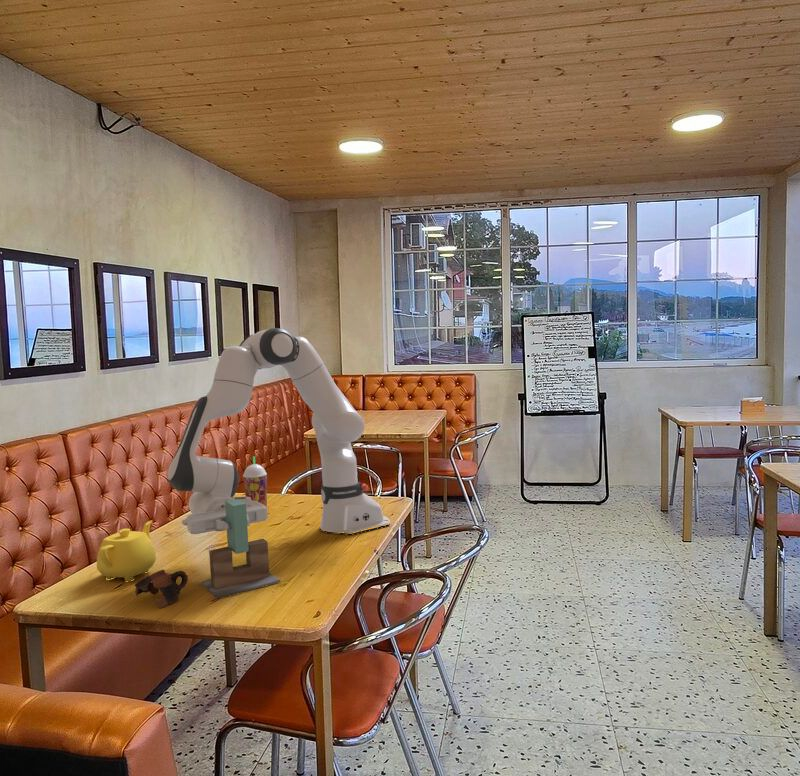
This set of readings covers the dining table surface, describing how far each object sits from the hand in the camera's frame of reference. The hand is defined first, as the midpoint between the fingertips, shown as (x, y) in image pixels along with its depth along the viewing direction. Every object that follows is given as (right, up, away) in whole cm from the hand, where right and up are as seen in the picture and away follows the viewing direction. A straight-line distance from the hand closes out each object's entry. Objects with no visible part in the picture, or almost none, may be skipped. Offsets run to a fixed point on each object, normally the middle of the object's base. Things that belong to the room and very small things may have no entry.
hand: (237, 524), depth 161 cm
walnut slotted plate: (0, -15, +2) cm, 15 cm away
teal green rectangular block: (0, -6, +1) cm, 7 cm away
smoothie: (-11, -10, +69) cm, 71 cm away
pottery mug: (-16, -17, -6) cm, 24 cm away
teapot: (-32, -16, +12) cm, 38 cm away
